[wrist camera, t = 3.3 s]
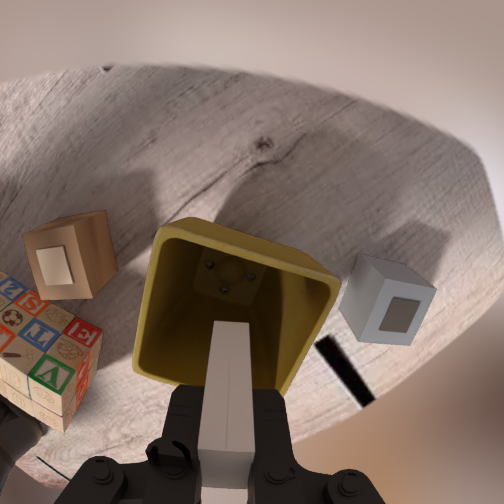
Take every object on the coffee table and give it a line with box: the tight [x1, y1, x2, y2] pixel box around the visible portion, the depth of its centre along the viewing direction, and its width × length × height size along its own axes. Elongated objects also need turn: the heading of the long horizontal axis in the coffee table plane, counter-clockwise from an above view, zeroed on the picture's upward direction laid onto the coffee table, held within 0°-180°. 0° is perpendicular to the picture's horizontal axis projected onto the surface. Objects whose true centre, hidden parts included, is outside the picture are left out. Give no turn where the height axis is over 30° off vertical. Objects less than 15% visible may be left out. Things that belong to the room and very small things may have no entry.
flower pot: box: [132, 217, 341, 397], centre depth 18 cm, size 9×9×9 cm
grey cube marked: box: [339, 253, 437, 346], centre depth 21 cm, size 5×5×5 cm
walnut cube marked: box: [22, 210, 118, 300], centre depth 19 cm, size 5×5×5 cm
